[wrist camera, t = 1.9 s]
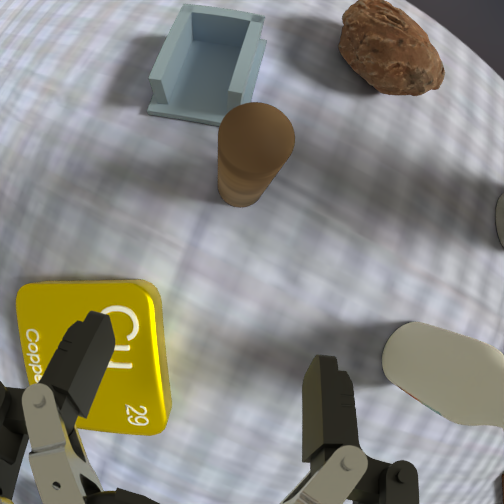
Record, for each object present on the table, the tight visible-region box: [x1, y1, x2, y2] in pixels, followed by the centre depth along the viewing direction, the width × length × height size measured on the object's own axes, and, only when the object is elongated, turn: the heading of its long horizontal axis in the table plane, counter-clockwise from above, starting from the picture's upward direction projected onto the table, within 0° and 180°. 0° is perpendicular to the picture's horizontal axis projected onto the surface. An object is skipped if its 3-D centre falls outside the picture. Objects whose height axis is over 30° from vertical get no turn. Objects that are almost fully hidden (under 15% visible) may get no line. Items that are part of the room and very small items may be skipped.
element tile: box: [16, 279, 172, 436], centre depth 26 cm, size 15×15×5 cm
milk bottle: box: [382, 322, 504, 430], centre depth 22 cm, size 8×8×20 cm
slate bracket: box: [147, 4, 267, 126], centre depth 27 cm, size 12×10×6 cm
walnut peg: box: [218, 102, 295, 207], centre depth 24 cm, size 4×4×13 cm
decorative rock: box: [338, 0, 445, 96], centre depth 27 cm, size 13×11×10 cm
